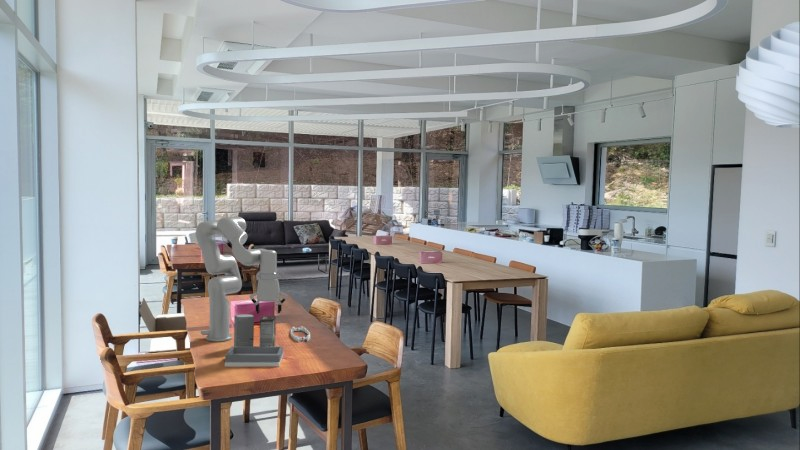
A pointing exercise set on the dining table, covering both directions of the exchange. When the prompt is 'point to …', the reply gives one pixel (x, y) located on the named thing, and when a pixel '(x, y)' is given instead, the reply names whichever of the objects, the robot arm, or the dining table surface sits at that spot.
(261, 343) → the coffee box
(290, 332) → the grey bumpy ring
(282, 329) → the dining table surface
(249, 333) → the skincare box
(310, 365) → the dining table surface
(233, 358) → the grey tray
